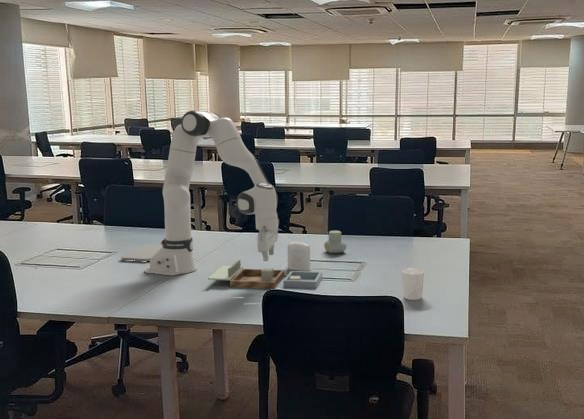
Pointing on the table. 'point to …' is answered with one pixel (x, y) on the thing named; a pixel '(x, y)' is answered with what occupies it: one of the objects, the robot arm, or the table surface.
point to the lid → (226, 272)
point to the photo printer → (298, 256)
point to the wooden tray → (255, 279)
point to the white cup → (412, 283)
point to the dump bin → (303, 279)
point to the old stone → (295, 278)
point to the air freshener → (335, 243)
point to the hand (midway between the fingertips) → (268, 257)
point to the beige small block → (267, 274)
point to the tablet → (142, 253)
